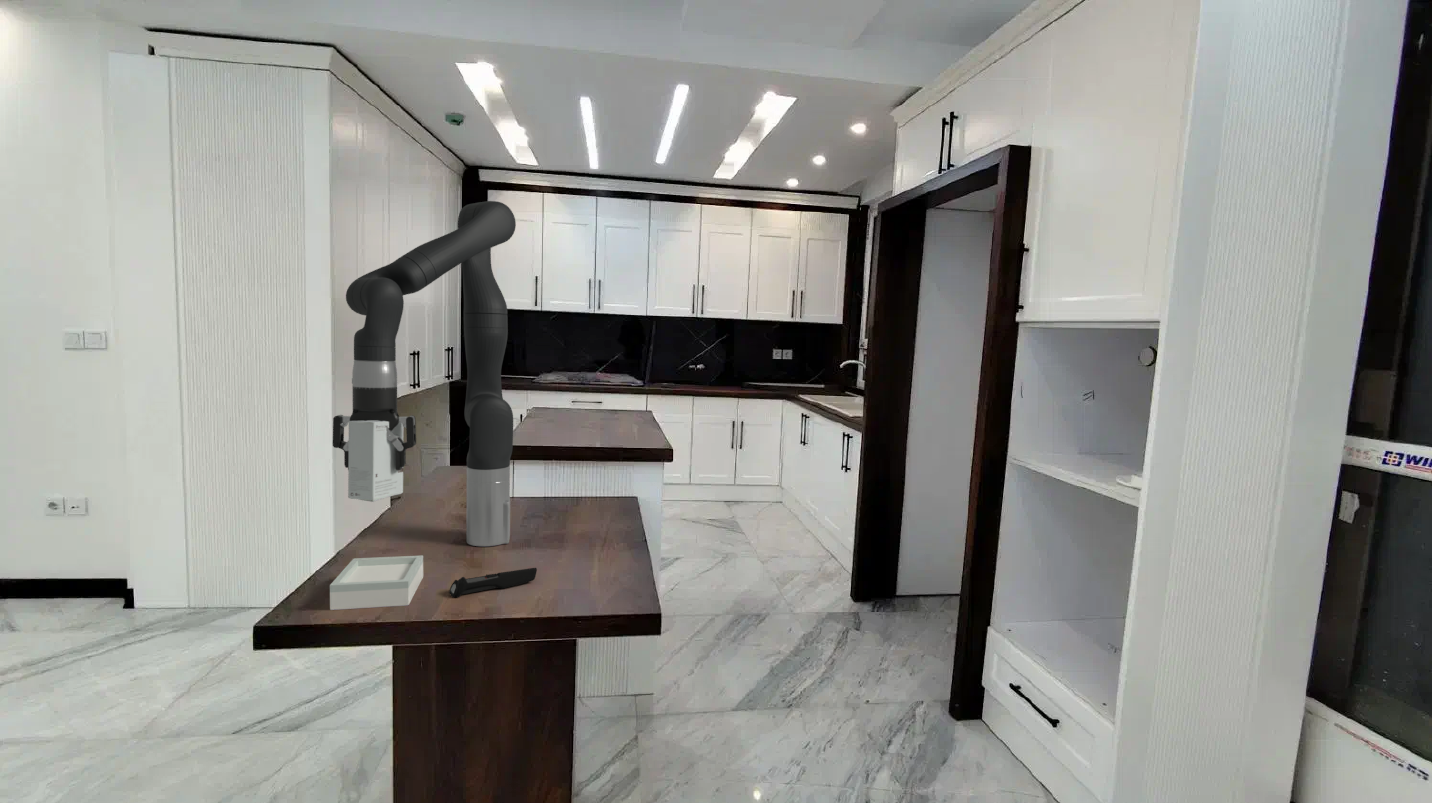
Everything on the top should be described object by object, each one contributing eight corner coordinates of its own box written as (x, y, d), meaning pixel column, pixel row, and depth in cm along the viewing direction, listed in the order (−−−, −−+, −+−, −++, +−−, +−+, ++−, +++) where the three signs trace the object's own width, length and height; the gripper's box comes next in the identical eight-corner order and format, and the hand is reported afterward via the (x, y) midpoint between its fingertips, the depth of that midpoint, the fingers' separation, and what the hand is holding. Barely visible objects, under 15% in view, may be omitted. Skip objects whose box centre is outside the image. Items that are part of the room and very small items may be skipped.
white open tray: (423, 576, 126) (423, 555, 126) (408, 605, 112) (408, 581, 112) (353, 580, 123) (353, 558, 123) (330, 610, 109) (329, 585, 109)
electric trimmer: (539, 586, 124) (539, 569, 124) (452, 600, 116) (453, 582, 116) (533, 580, 128) (533, 564, 127) (448, 593, 119) (448, 576, 119)
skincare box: (373, 502, 122) (373, 422, 120) (345, 499, 123) (346, 420, 122) (404, 493, 130) (405, 418, 128) (379, 490, 131) (379, 415, 130)
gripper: (419, 384, 130) (419, 466, 131) (339, 382, 126) (340, 466, 128) (411, 386, 122) (411, 473, 124) (326, 385, 119) (327, 474, 120)
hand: (375, 469), depth 126 cm, fingers closed on skincare box, 8 cm apart
